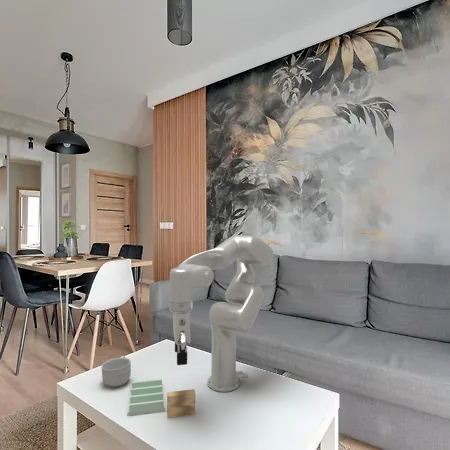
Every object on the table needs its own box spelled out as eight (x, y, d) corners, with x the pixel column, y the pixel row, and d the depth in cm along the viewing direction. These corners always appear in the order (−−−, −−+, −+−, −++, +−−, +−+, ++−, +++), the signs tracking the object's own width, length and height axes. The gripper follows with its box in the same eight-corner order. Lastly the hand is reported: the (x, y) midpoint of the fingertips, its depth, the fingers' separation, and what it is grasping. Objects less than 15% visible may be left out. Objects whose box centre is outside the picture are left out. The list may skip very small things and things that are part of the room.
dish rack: (163, 386, 118) (163, 378, 118) (165, 410, 103) (165, 401, 103) (130, 390, 115) (130, 381, 115) (127, 415, 100) (127, 405, 100)
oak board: (194, 409, 104) (194, 389, 104) (195, 414, 101) (195, 393, 101) (166, 413, 102) (167, 392, 102) (167, 418, 99) (167, 396, 99)
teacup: (121, 392, 114) (121, 370, 114) (95, 388, 116) (95, 367, 116) (139, 374, 128) (139, 354, 128) (115, 371, 130) (115, 352, 130)
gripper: (195, 312, 94) (195, 368, 94) (189, 298, 111) (189, 346, 111) (170, 314, 92) (170, 371, 92) (168, 299, 109) (167, 348, 109)
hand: (180, 357), depth 102 cm, fingers open, 9 cm apart
